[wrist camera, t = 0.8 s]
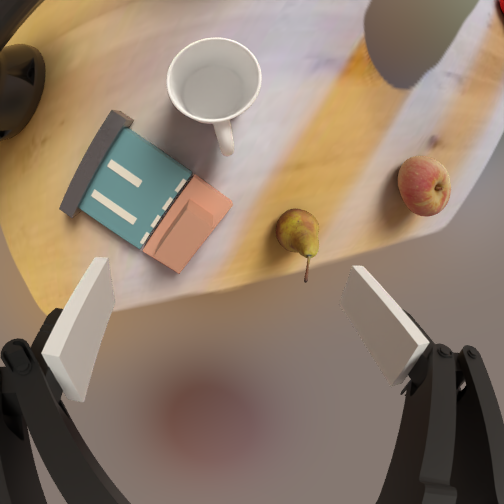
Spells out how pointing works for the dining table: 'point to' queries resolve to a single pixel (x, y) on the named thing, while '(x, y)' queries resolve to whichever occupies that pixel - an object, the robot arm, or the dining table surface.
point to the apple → (424, 185)
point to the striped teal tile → (133, 187)
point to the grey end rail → (93, 161)
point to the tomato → (502, 5)
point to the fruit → (299, 234)
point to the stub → (187, 224)
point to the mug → (214, 84)
